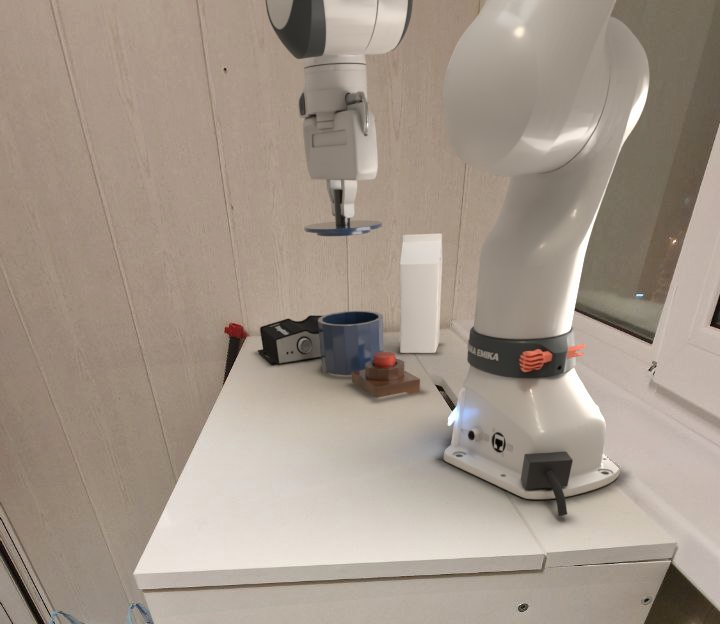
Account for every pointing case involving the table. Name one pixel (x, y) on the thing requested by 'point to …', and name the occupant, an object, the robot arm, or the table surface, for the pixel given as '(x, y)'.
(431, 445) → the table surface
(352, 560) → the table surface
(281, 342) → the electronic device
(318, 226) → the lid
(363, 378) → the block
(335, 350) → the pot
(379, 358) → the button
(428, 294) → the milk carton
